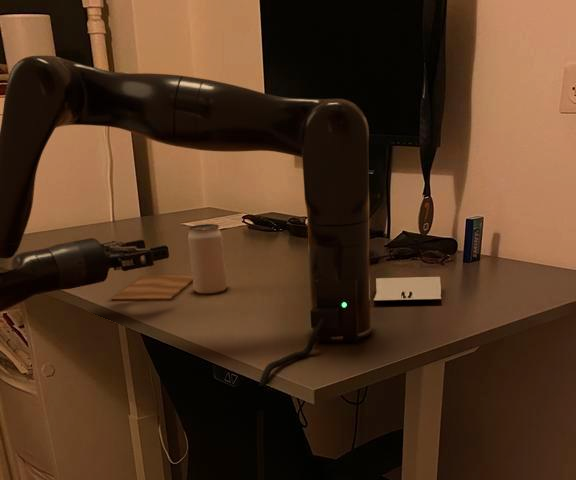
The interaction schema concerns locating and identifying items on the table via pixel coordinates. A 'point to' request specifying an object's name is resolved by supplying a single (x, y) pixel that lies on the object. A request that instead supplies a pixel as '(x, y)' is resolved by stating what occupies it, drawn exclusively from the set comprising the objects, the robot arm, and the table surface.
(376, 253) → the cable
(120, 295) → the placemat
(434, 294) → the folded paper
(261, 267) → the table surface
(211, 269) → the can
